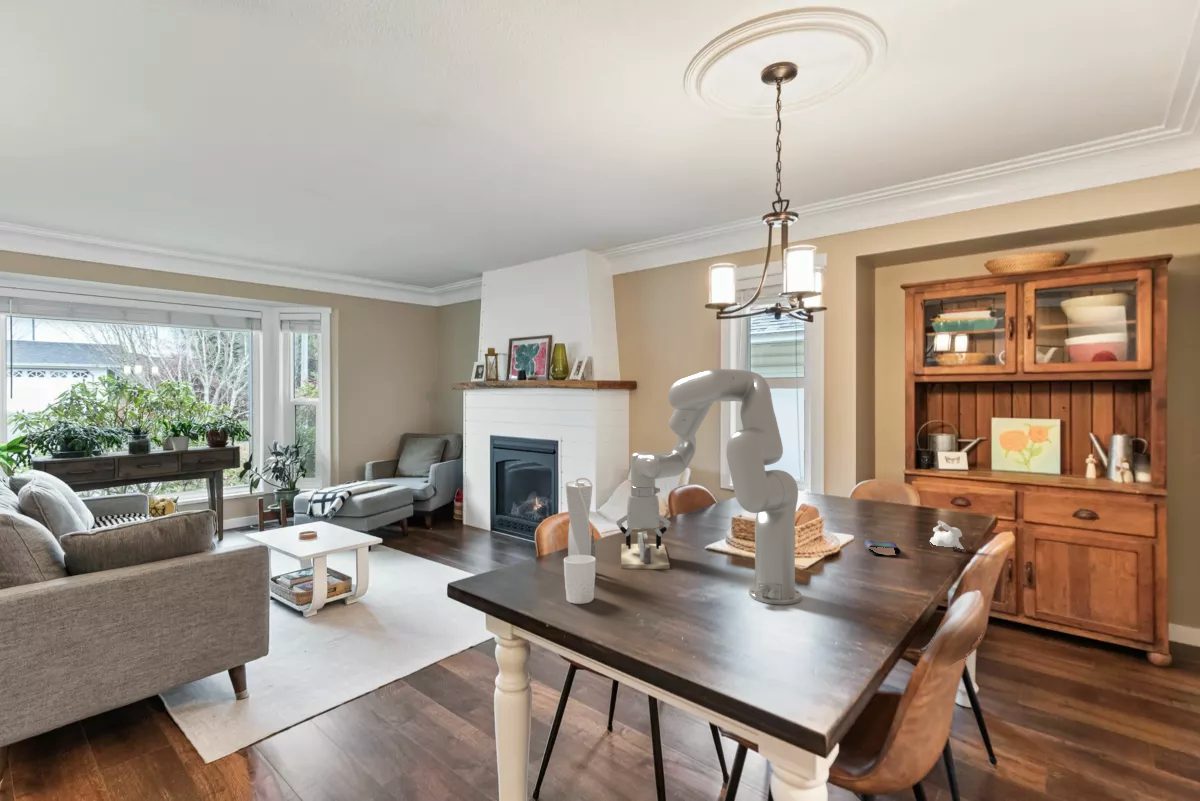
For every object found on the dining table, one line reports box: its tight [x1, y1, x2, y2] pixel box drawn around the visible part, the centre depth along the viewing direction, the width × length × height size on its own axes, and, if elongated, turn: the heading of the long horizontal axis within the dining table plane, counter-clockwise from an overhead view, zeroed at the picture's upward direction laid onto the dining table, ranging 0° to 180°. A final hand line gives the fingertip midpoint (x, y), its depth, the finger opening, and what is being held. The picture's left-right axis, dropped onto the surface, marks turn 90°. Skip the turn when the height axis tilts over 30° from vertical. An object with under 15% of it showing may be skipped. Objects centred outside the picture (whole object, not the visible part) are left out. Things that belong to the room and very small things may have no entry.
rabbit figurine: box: [929, 520, 965, 549], centre depth 187 cm, size 12×8×10 cm, turn 22°
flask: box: [864, 539, 902, 556], centre depth 184 cm, size 9×3×11 cm
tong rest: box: [620, 530, 671, 570], centre depth 179 cm, size 14×24×6 cm, turn 178°
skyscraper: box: [565, 477, 597, 580], centre depth 160 cm, size 8×8×28 cm
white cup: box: [563, 555, 597, 605], centre depth 142 cm, size 8×8×10 cm
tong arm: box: [637, 531, 644, 561], centre depth 179 cm, size 1×18×4 cm, turn 178°
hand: (643, 547), depth 179 cm, fingers open, 8 cm apart
